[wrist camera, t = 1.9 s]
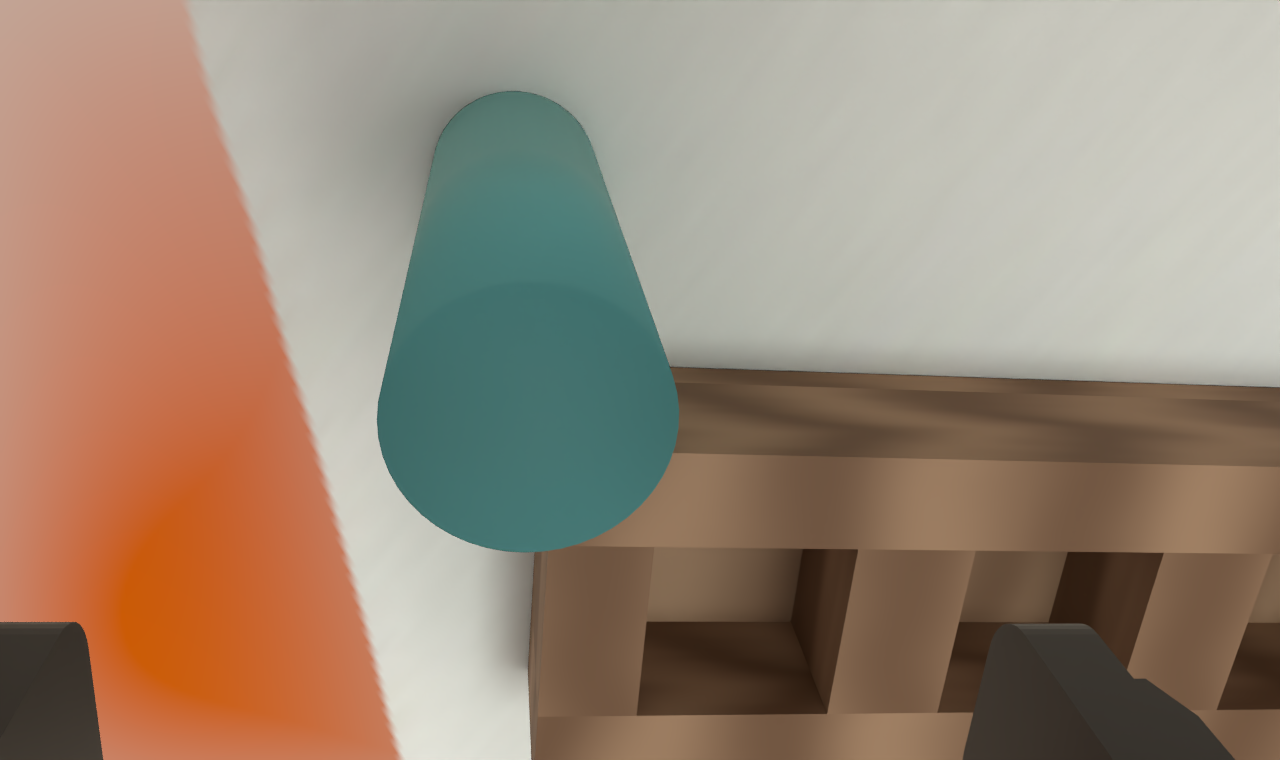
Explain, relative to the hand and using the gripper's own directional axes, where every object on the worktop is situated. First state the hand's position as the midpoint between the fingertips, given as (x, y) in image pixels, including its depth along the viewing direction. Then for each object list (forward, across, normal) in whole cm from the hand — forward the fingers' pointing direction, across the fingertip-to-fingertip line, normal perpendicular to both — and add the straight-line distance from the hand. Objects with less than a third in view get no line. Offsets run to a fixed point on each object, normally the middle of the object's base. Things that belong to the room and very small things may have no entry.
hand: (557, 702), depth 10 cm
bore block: (+20, -14, +10) cm, 26 cm away
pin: (+20, 0, 0) cm, 20 cm away
